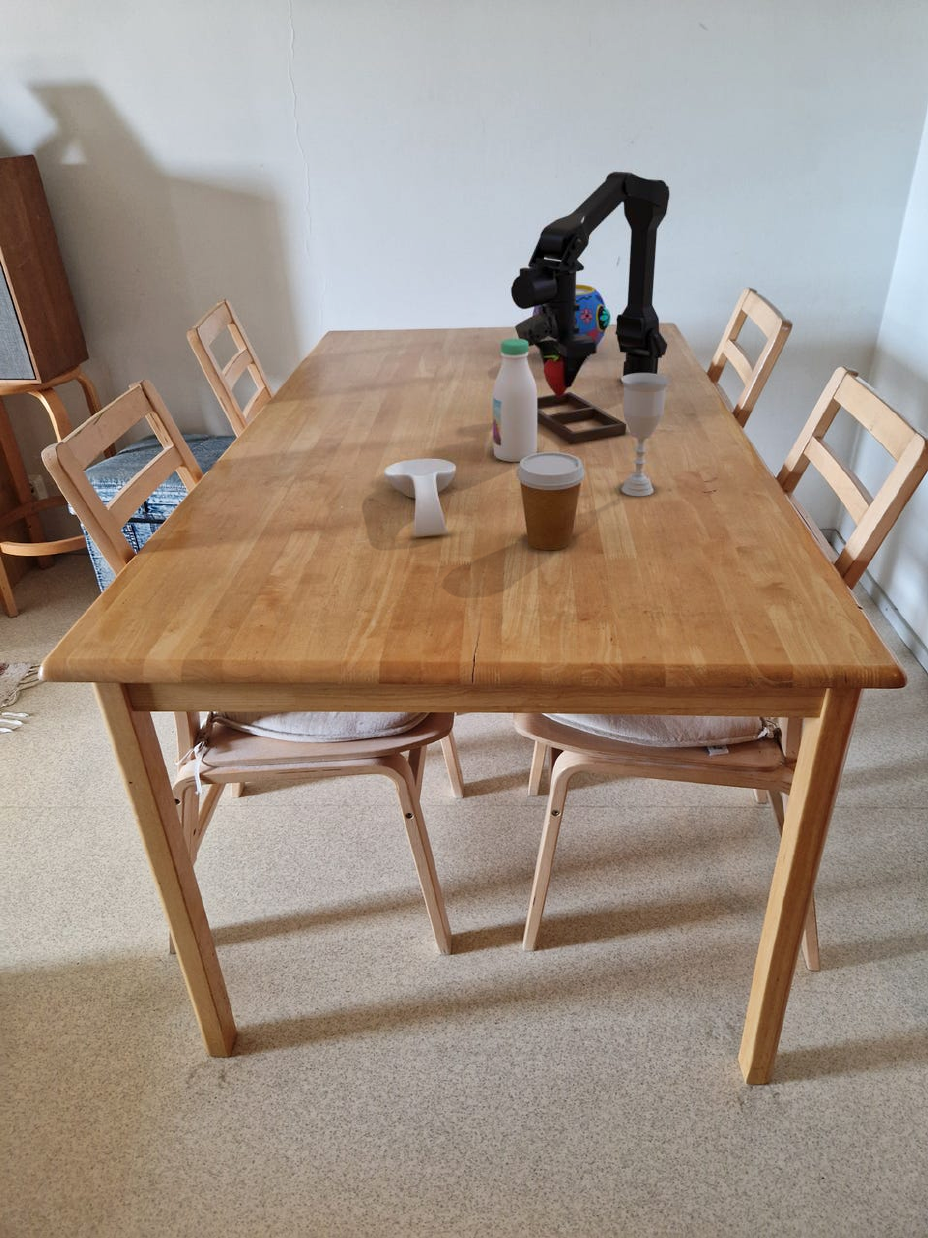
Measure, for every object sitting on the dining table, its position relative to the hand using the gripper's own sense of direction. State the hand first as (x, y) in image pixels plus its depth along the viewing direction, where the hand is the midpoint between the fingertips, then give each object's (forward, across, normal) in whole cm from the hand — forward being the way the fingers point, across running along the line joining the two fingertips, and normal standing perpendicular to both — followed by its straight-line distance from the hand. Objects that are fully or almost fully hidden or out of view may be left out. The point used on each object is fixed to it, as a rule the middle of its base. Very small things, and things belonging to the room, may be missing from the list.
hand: (558, 382), depth 174 cm
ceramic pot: (+7, -37, +22) cm, 43 cm away
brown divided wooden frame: (+6, +5, 0) cm, 8 cm away
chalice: (+6, +39, -6) cm, 40 cm away
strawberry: (+3, 0, 0) cm, 3 cm away
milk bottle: (+6, +16, -17) cm, 24 cm away
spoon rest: (+6, +29, -39) cm, 49 cm away
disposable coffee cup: (+6, +49, -27) cm, 57 cm away
